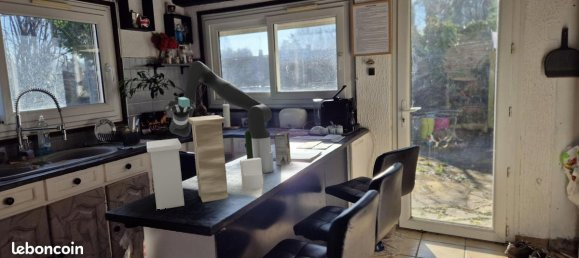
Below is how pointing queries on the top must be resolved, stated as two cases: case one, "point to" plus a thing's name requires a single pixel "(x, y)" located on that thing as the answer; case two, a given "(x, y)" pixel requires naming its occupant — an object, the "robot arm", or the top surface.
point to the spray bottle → (248, 143)
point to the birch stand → (209, 157)
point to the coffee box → (282, 148)
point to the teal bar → (184, 102)
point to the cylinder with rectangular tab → (251, 173)
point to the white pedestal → (166, 172)
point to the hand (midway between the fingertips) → (181, 97)
